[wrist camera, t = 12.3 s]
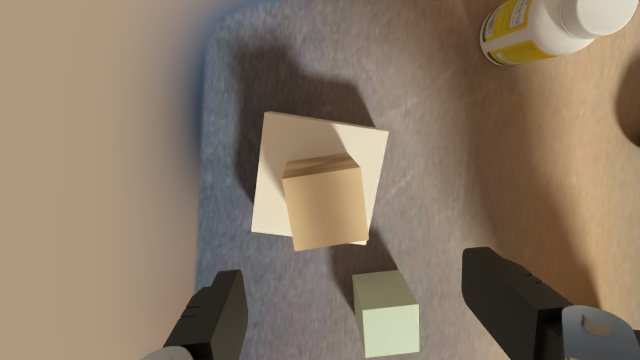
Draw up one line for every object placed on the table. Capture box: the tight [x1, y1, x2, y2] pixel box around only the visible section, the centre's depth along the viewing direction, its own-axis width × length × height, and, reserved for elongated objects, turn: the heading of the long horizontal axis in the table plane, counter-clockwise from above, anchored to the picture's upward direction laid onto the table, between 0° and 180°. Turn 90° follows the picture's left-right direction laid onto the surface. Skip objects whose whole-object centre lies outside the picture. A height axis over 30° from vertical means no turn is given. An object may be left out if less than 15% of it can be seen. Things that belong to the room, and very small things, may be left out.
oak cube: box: [282, 153, 369, 251], centre depth 23 cm, size 5×5×6 cm
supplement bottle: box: [480, 0, 638, 66], centre depth 24 cm, size 5×5×10 cm
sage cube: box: [352, 270, 419, 358], centre depth 31 cm, size 5×5×6 cm
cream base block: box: [251, 111, 389, 245], centre depth 29 cm, size 10×10×5 cm
